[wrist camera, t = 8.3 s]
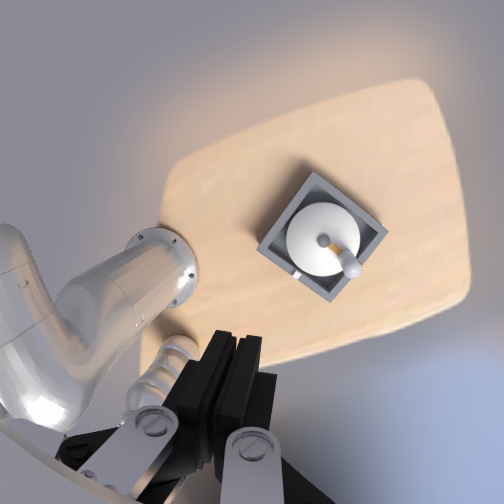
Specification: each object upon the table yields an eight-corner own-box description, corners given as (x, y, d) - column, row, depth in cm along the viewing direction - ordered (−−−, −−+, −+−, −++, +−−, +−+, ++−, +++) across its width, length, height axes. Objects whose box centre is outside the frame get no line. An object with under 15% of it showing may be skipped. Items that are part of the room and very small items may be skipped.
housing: (328, 293, 39) (330, 304, 36) (259, 244, 39) (255, 250, 36) (382, 226, 36) (389, 232, 32) (311, 171, 35) (313, 171, 32)
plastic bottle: (162, 329, 46) (98, 407, 27) (198, 329, 44) (143, 417, 25) (172, 360, 47) (119, 440, 28) (207, 361, 46) (163, 451, 27)
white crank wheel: (272, 245, 37) (267, 260, 31) (314, 186, 35) (317, 190, 28) (328, 284, 38) (334, 306, 31) (370, 229, 35) (385, 242, 28)
